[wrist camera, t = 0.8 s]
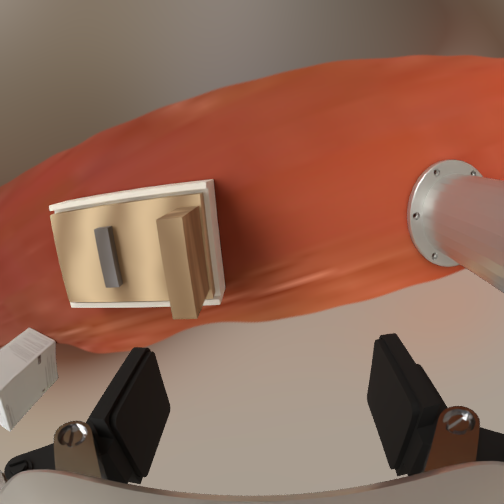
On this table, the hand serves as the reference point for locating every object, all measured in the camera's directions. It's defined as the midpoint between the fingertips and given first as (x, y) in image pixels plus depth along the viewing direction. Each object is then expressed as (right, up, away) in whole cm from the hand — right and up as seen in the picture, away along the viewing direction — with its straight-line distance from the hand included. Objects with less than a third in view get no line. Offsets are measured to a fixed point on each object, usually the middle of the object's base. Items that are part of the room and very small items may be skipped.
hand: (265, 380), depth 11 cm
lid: (-13, +5, +21) cm, 25 cm away
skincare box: (-33, -11, +30) cm, 46 cm away
